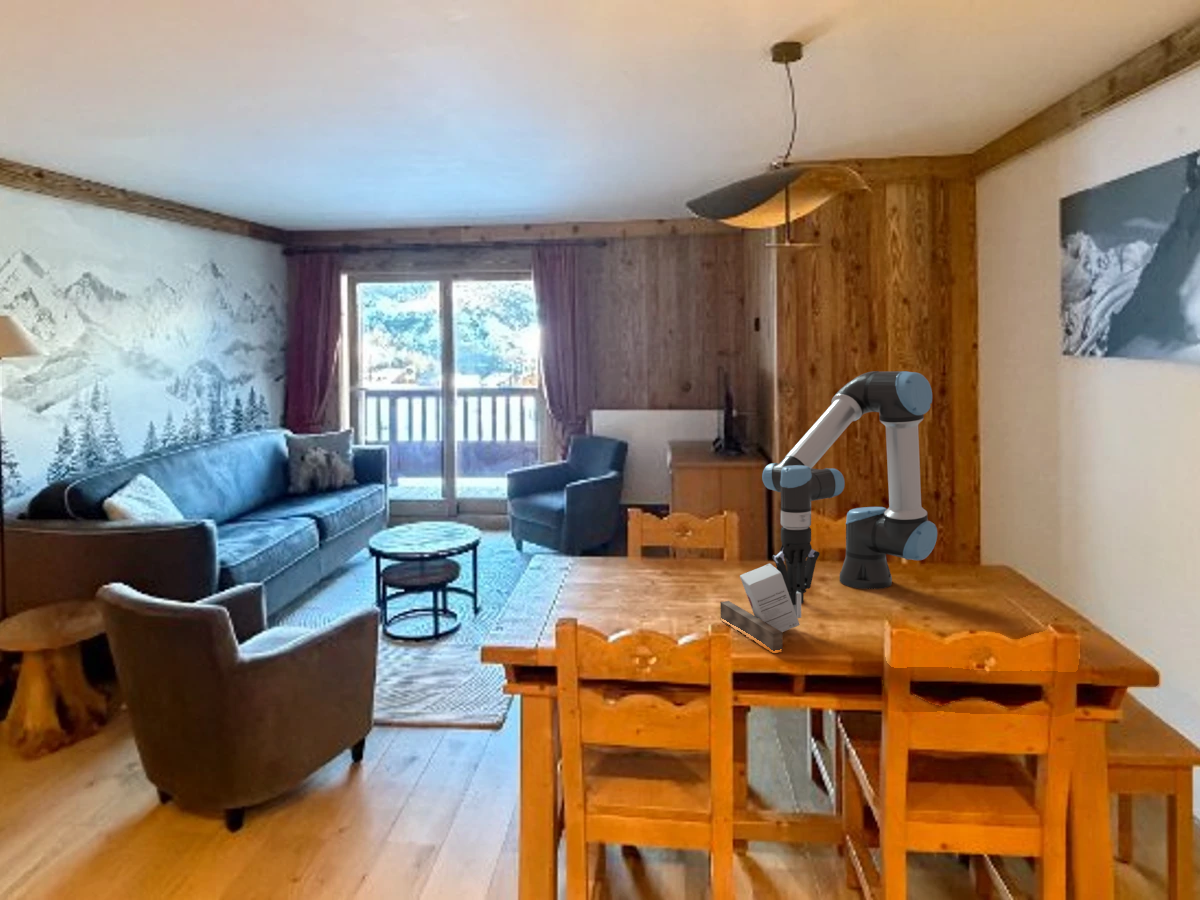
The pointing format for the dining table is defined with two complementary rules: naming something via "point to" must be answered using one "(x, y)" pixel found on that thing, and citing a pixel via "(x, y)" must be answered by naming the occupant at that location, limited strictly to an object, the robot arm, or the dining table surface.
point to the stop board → (752, 625)
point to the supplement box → (770, 597)
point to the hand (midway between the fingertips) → (796, 616)
